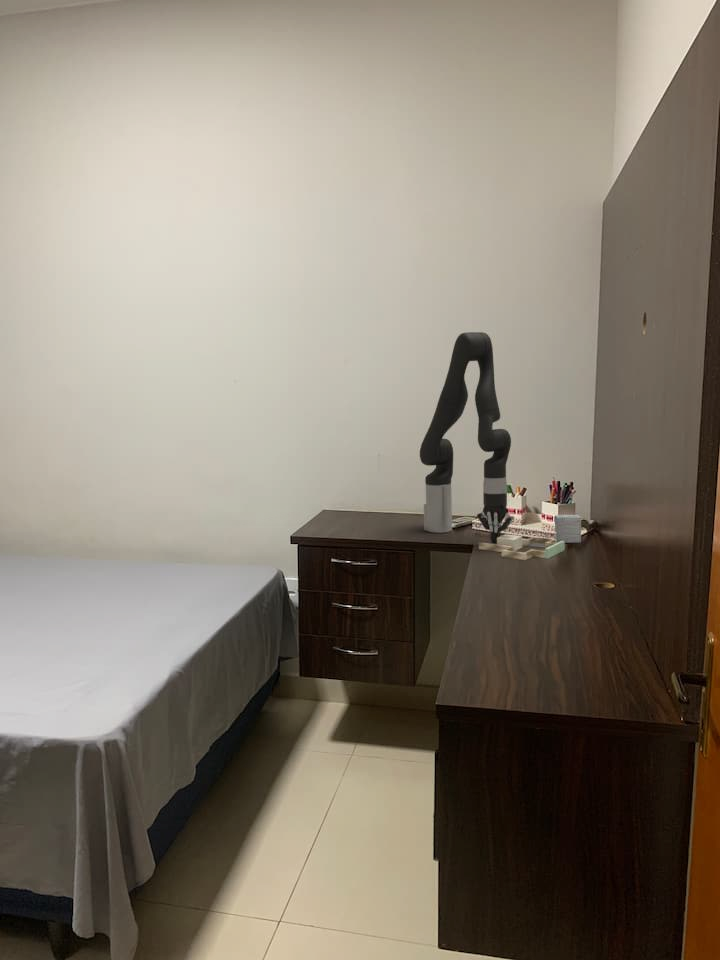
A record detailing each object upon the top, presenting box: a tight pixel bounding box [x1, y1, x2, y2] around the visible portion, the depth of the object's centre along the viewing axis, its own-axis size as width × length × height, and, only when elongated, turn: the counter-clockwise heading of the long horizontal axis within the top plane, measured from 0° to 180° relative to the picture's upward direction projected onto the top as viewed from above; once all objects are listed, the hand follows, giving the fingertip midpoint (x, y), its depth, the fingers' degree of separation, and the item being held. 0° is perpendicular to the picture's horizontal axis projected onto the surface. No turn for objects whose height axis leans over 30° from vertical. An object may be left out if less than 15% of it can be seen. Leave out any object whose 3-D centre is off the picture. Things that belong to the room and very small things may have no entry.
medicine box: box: [554, 514, 582, 544], centre depth 244 cm, size 8×4×9 cm, turn 84°
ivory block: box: [497, 534, 523, 552], centre depth 238 cm, size 6×6×4 cm
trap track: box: [478, 535, 566, 561], centre depth 236 cm, size 24×22×3 cm
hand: (495, 542), depth 241 cm, fingers closed
